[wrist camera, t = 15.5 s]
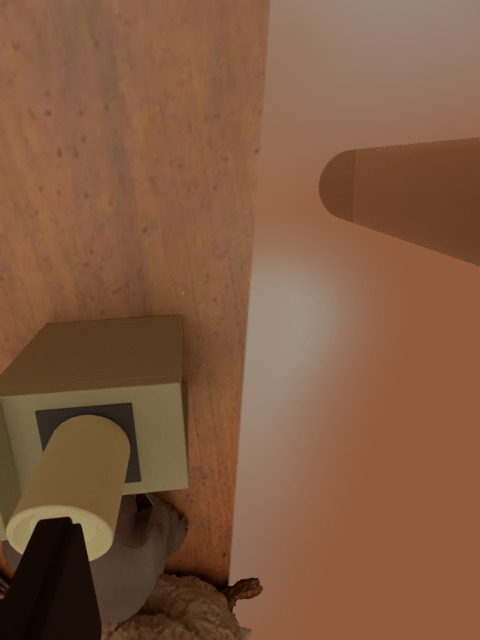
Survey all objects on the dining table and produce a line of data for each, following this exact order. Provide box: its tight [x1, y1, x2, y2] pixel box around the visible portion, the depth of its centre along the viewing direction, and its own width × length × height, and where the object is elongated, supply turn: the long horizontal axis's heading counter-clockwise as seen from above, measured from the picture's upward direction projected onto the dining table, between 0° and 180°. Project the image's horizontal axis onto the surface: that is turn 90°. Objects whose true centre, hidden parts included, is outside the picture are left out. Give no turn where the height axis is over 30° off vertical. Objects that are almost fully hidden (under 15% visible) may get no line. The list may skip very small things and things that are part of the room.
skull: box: [3, 492, 189, 623], centre depth 42 cm, size 12×18×12 cm, turn 57°
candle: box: [6, 415, 130, 561], centre depth 25 cm, size 5×5×8 cm
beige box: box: [0, 315, 189, 541], centre depth 35 cm, size 12×8×17 cm, turn 92°
